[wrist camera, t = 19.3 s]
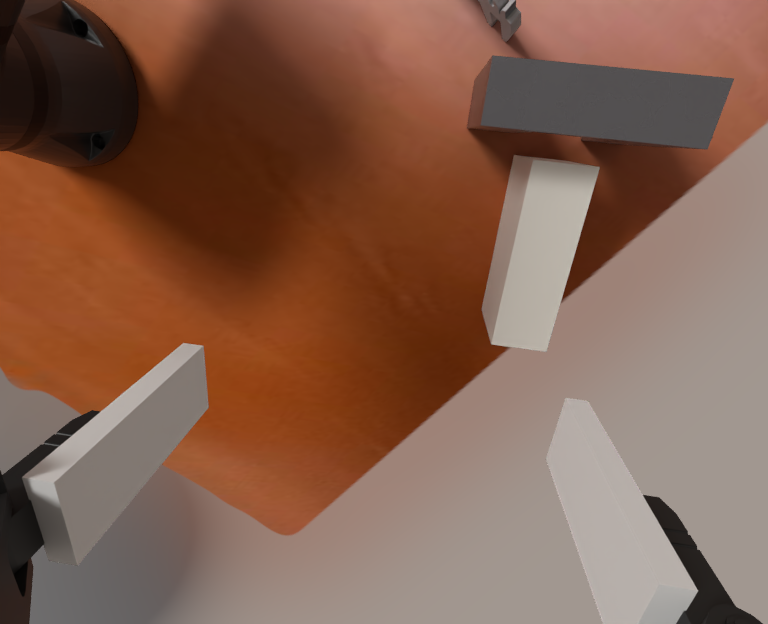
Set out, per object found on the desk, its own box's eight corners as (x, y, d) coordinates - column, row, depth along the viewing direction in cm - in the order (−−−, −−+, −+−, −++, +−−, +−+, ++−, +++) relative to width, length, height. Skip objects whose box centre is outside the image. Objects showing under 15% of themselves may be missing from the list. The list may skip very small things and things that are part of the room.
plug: (478, 325, 47) (486, 363, 39) (513, 154, 40) (533, 159, 32) (523, 331, 47) (540, 370, 39) (567, 160, 40) (599, 167, 32)
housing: (466, 128, 39) (480, 125, 28) (474, 79, 38) (492, 55, 26) (625, 145, 38) (707, 149, 27) (640, 96, 37) (734, 78, 25)
